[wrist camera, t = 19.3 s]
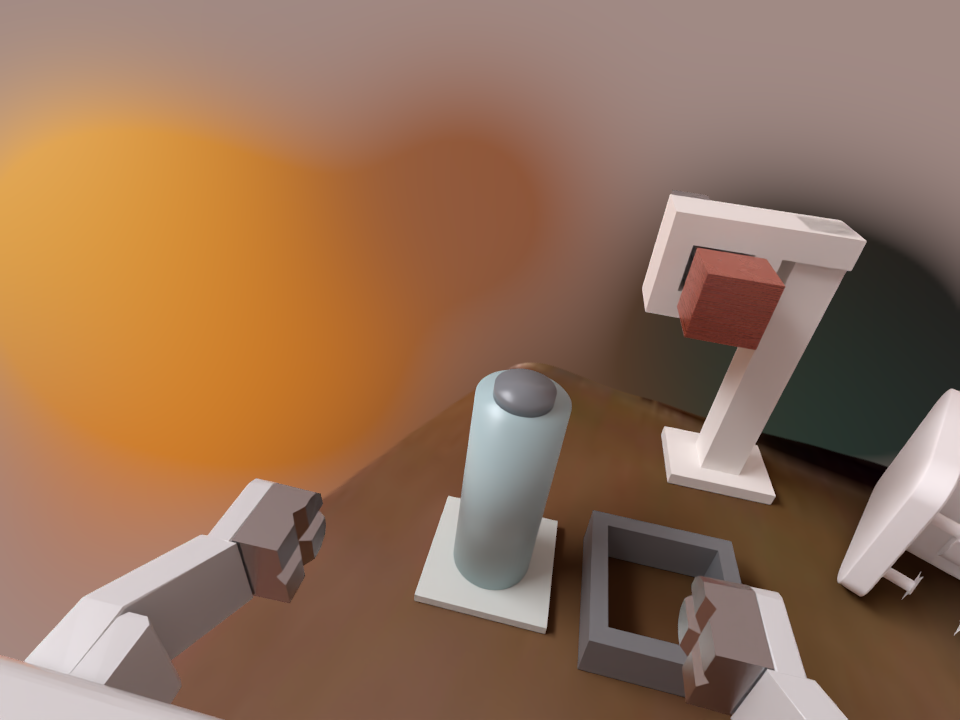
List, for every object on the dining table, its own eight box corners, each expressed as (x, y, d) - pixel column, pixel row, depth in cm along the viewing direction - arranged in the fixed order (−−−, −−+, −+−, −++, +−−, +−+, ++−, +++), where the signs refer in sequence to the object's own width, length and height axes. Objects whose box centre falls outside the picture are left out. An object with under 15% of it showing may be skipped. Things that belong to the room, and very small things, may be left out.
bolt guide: (753, 453, 46) (875, 222, 35) (770, 504, 41) (920, 254, 30) (600, 422, 48) (668, 190, 36) (599, 467, 43) (678, 216, 31)
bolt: (701, 231, 47) (716, 187, 45) (755, 350, 30) (785, 286, 28) (656, 224, 48) (669, 179, 45) (684, 337, 30) (707, 273, 28)
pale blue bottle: (533, 533, 36) (576, 370, 28) (524, 598, 32) (572, 428, 24) (462, 516, 36) (486, 351, 29) (445, 578, 32) (467, 405, 25)
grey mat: (556, 526, 37) (557, 521, 37) (545, 634, 31) (546, 628, 30) (447, 501, 38) (448, 495, 38) (414, 600, 32) (414, 594, 31)
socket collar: (715, 569, 36) (731, 541, 34) (743, 712, 28) (765, 685, 26) (583, 538, 37) (593, 510, 35) (577, 669, 29) (589, 640, 27)
